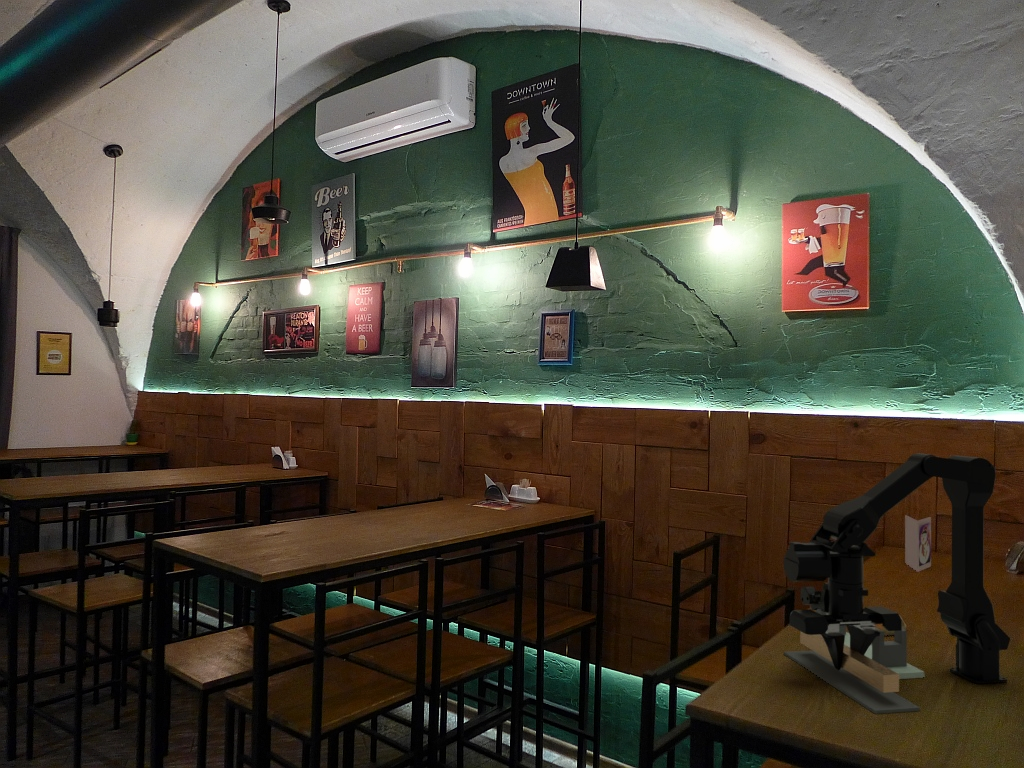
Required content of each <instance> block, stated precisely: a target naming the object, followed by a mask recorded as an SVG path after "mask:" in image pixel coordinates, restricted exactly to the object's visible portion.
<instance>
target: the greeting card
mask: <svg viewBox="0 0 1024 768" xmlns="http://www.w3.org/2000/svg"><path fill="white" fill-rule="evenodd" d="M904 524H905V525H904V530H905V531H904V535H905V536H904V540H905V541H904V545H905V546H904V553H905V555H904V557H905V559H904V562H905V563H906V564H905V563H904V564H905V565H907V566H908V565H909V566H908V567H910V568H911V569H912V568H913V570H914V571H915V570H916V571H915V572H916V573H919V572H921V571H923V570H926V569H928V568H931V566H932V517H931V516H929V517H925V518H922V519H919V520H917V519H915V518H912V517H911V516H909V515H907V514H905V517H904Z"/></svg>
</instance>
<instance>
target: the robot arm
mask: <svg viewBox="0 0 1024 768" xmlns="http://www.w3.org/2000/svg"><path fill="white" fill-rule="evenodd" d="M996 476H997V473H996V468H995V466H994V464H992V463H991V462H990V461H989V460H987V459H986V458H984V457H983V458H982V457H976V456H966V455H958V454H956V455H951V456H949V457H947V458H945V457H939V456H936V455H934V454H928V453H920V452H918V453H914V454H912V455H909V457H908V458H907V460H906V461H905V462H904V463H902V464H901V465H900V466H898V467H897V468H896V469H894V470H893V471H892V472H891V473H890V474H888V475H887V476H885V477H884V478H883V479H882V480H881V481H879V482H878V483H876V484H875V485H874V486H872V487H871V488H870V489H868V491H866V492H865V493H863V494H862V495H860V496H858V497H856V498H854V499H851V500H847V501H845V502H842V503H840V504H838V505H836V506H833V507H832V508H830V509H828V510H827V511H826V513H825V514H824V515H823V517H822V519H823V521H822V523H821V525H820V526H819V527H818V529H817V530H816V532H815V533H814V534H813V536H812V537H811V539H810V540H809V542H799V541H789V544H788V545H789V547H788V549H787V550H786V551H785V555H784V557H783V558H782V559H783V560H782V561H783V570H784V573H785V576H786V577H787V580H789V582H823V585H822V590H816V588H815V586H801V587H800V602H801V603H802V605H804V606H809V607H810V609H794V610H792V611H791V612H790V614H789V626H790V627H793V628H794V629H796V630H798V631H799V632H800V631H801V632H803V633H805V634H808V635H818V634H821V635H822V637H823V639H824V641H825V643H826V645H827V648H828V650H829V653H830V656H831V659H832V661H833V664H834V667H835V668H836V669H837V670H840V669H841V665H842V658H843V649H844V641H845V635H843V634H841V633H840V626H844V625H846V629H847V631H848V633H849V634H850V648H852V649H853V650H855V651H857V652H859V653H861V654H863V655H864V654H865V653H866V651H867V649H868V648H869V646H870V645H872V642H873V641H874V639H875V638H876V637H877V636H880V632H878V631H876V630H875V624H882V626H883V627H884V628H885V629H886V630H887V631H901V630H902V619H903V618H902V616H901V615H900V614H899V612H896V611H894V610H891V609H889V608H887V607H884V606H880V605H879V606H864V597H865V596H866V597H868V596H869V590H868V589H867V588H865V587H864V557H875V556H876V555H877V554H876V552H875V551H874V550H872V548H871V547H869V545H868V544H867V542H865V541H867V539H869V537H870V536H871V535H872V534H873V533H874V532H875V530H877V527H878V524H879V522H880V520H881V518H883V516H884V515H885V514H886V513H888V512H889V511H890V510H892V509H893V508H895V507H896V506H897V505H898V504H899V503H901V502H902V501H903V500H905V499H906V498H907V497H908V496H910V494H912V493H913V492H915V491H916V490H917V489H918V488H920V487H921V486H922V485H924V484H925V483H926V482H928V481H929V480H930V479H932V478H933V477H935V478H941V479H942V481H941V482H942V485H943V490H944V491H945V494H946V496H947V497H948V499H949V501H950V503H951V504H950V505H951V581H950V584H949V585H948V587H947V588H946V590H938V592H937V598H938V607H937V609H936V613H937V612H938V613H940V619H941V622H943V623H944V625H946V627H947V631H948V632H949V635H950V636H953V637H954V638H955V637H956V644H955V666H954V667H953V666H952V667H949V672H951V673H954V674H956V675H957V676H960V677H962V678H964V679H966V680H968V681H970V682H972V683H975V684H993V683H994V684H995V683H1006V682H1008V678H1006V677H1004V676H1002V675H1000V651H1005V650H1008V647H1009V644H1010V642H1011V637H1010V636H1009V635H1008V634H1007V633H1006V632H1005V631H1004V630H1003V629H1002V628H1001V626H999V625H998V624H997V623H996V618H995V611H994V605H993V603H992V601H991V599H990V597H989V595H988V593H987V590H986V589H985V586H984V571H985V569H984V568H985V567H984V561H985V560H984V559H985V558H984V552H985V551H984V550H985V549H984V545H985V544H984V541H985V539H984V538H985V534H984V530H985V529H984V528H985V527H984V525H985V524H984V523H985V521H984V520H985V519H984V518H985V515H984V513H985V507H986V504H987V502H989V500H990V498H991V496H992V495H993V493H994V489H995V483H996V478H997V477H996ZM832 539H833V540H832ZM834 540H835V541H834ZM826 580H827V582H824V581H826ZM817 609H820V611H822V612H826V613H828V615H821V614H819V613H817V612H816V610H817ZM901 618H902V619H901Z"/></svg>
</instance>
